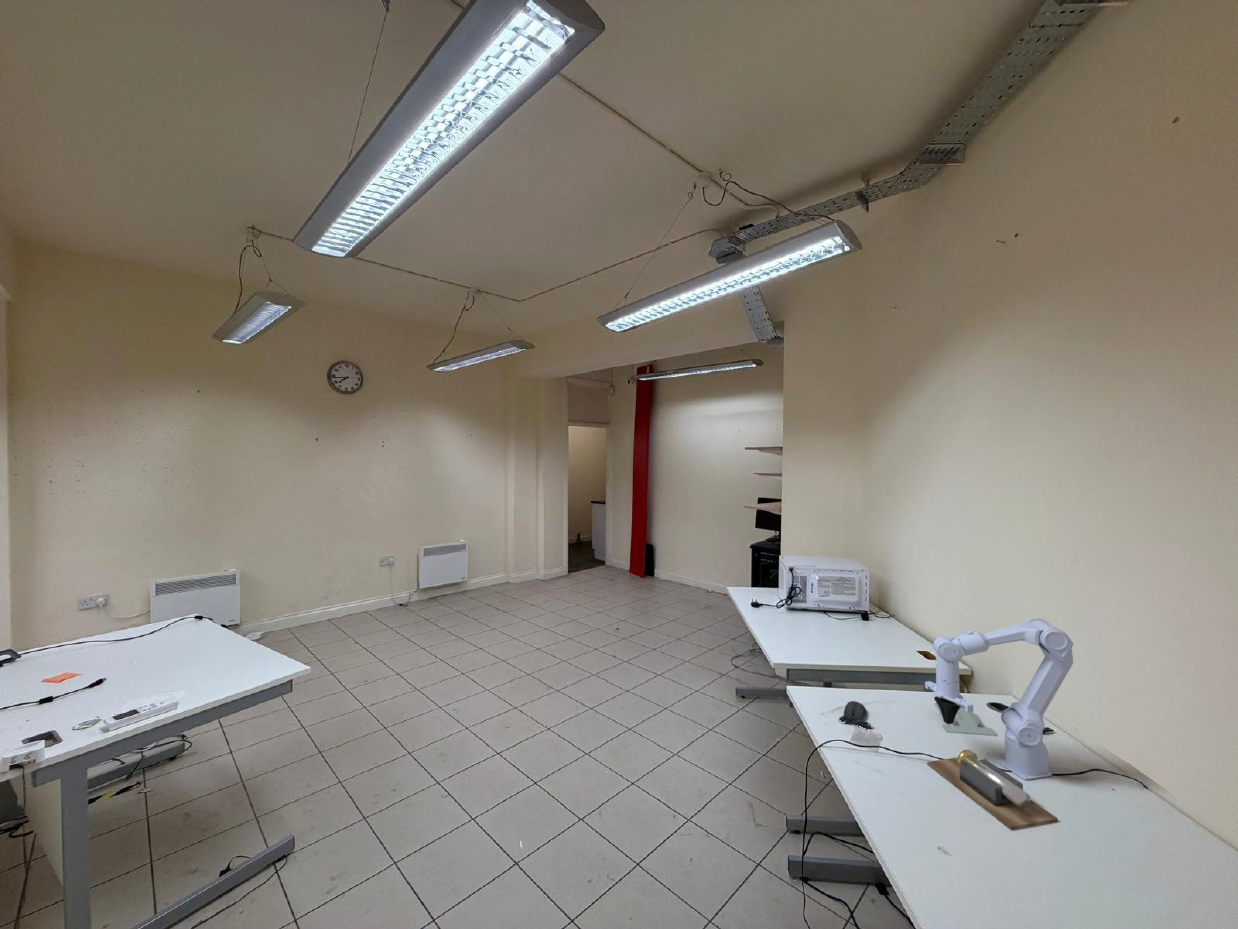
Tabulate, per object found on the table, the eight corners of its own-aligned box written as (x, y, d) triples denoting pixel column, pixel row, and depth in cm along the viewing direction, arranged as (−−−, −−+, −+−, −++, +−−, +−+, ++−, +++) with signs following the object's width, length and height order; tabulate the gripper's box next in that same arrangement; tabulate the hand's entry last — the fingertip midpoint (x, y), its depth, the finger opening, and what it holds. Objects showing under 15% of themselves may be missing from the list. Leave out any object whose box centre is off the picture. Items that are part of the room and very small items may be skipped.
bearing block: (985, 775, 126) (985, 759, 126) (1023, 801, 116) (1022, 784, 116) (959, 779, 124) (959, 763, 124) (995, 806, 114) (995, 788, 114)
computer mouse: (873, 711, 161) (872, 701, 161) (871, 732, 148) (871, 721, 148) (842, 704, 166) (842, 694, 166) (838, 724, 154) (838, 713, 154)
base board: (967, 758, 134) (967, 756, 134) (1057, 821, 110) (1057, 818, 110) (927, 764, 132) (927, 762, 132) (1011, 830, 108) (1011, 827, 108)
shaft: (973, 767, 128) (973, 747, 128) (1033, 810, 112) (1033, 787, 112) (955, 770, 127) (955, 749, 127) (1014, 814, 111) (1013, 790, 111)
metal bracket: (927, 696, 159) (973, 699, 156) (925, 709, 161) (971, 712, 158) (949, 731, 145) (1000, 734, 143) (946, 744, 147) (997, 748, 144)
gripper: (916, 669, 142) (917, 711, 142) (958, 691, 127) (959, 738, 127) (935, 666, 143) (936, 708, 143) (979, 689, 128) (980, 735, 128)
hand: (948, 722), depth 135 cm, fingers closed
